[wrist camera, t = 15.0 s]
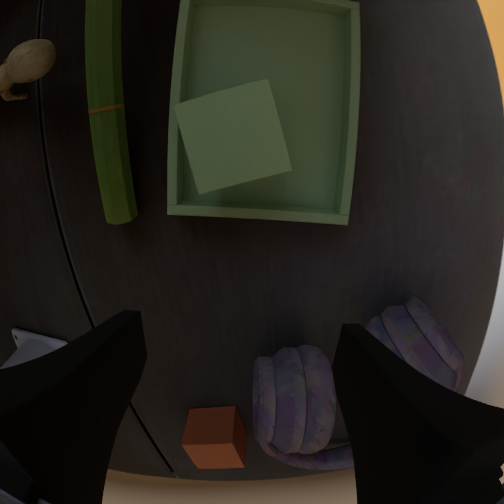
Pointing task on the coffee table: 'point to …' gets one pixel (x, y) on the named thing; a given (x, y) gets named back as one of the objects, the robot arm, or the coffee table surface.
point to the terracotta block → (215, 437)
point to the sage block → (233, 136)
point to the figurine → (26, 66)
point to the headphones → (323, 389)
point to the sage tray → (286, 99)
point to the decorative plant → (108, 109)
